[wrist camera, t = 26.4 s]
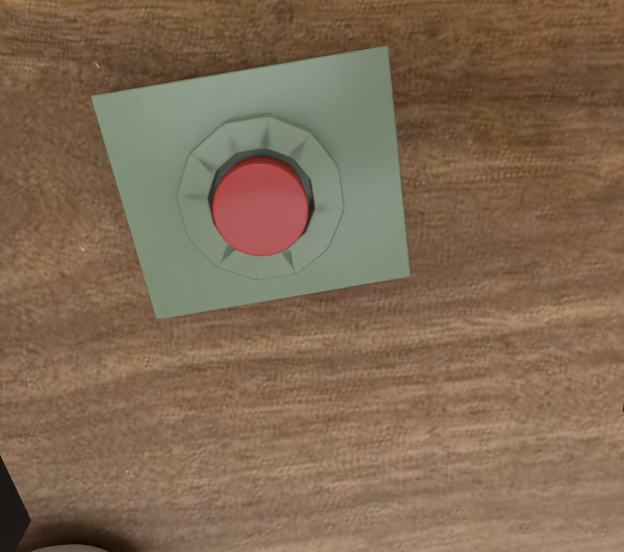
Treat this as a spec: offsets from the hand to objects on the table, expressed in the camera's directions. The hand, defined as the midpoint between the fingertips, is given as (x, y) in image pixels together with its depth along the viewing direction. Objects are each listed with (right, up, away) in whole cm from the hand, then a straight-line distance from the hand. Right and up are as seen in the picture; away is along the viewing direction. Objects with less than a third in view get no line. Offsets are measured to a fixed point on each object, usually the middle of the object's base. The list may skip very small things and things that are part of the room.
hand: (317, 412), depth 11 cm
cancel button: (-2, +6, +11) cm, 12 cm away
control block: (-2, +7, +14) cm, 16 cm away
